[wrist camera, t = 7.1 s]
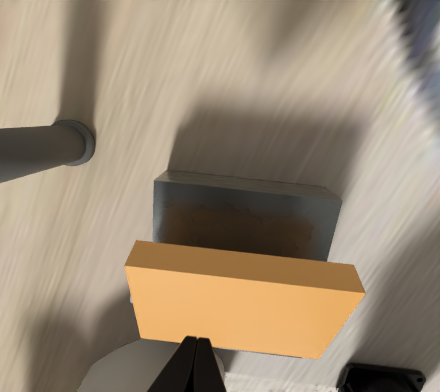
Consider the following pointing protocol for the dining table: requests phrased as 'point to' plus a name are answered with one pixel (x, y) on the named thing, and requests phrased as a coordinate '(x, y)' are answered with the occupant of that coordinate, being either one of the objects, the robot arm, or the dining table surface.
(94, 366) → the lumpy-topped squat cylinder
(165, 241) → the block
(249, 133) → the dining table surface
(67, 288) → the dining table surface
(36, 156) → the post
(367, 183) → the dining table surface
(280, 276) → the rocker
